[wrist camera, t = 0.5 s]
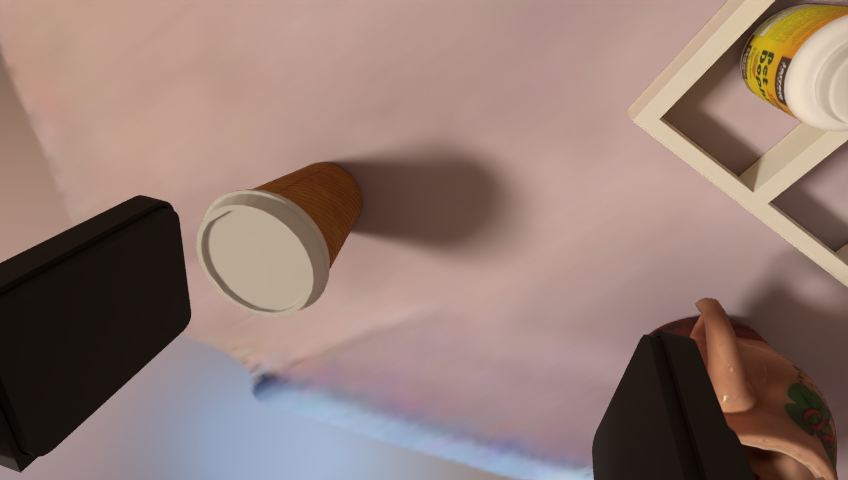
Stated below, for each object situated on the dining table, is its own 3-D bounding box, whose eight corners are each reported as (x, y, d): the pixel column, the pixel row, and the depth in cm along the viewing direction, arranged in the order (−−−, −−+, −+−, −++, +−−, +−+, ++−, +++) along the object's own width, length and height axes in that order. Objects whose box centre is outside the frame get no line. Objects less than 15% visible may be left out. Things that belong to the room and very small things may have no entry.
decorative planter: (585, 260, 39) (596, 380, 27) (759, 221, 34) (865, 346, 22) (641, 436, 46) (669, 595, 34) (792, 424, 41) (887, 603, 29)
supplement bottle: (723, 37, 30) (791, 58, 21) (829, -17, 28) (955, -19, 19) (753, 116, 31) (828, 166, 23) (855, 71, 29) (983, 107, 20)
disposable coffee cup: (343, 263, 45) (279, 345, 35) (261, 197, 44) (170, 262, 34) (401, 195, 40) (347, 266, 30) (312, 119, 39) (223, 166, 29)
